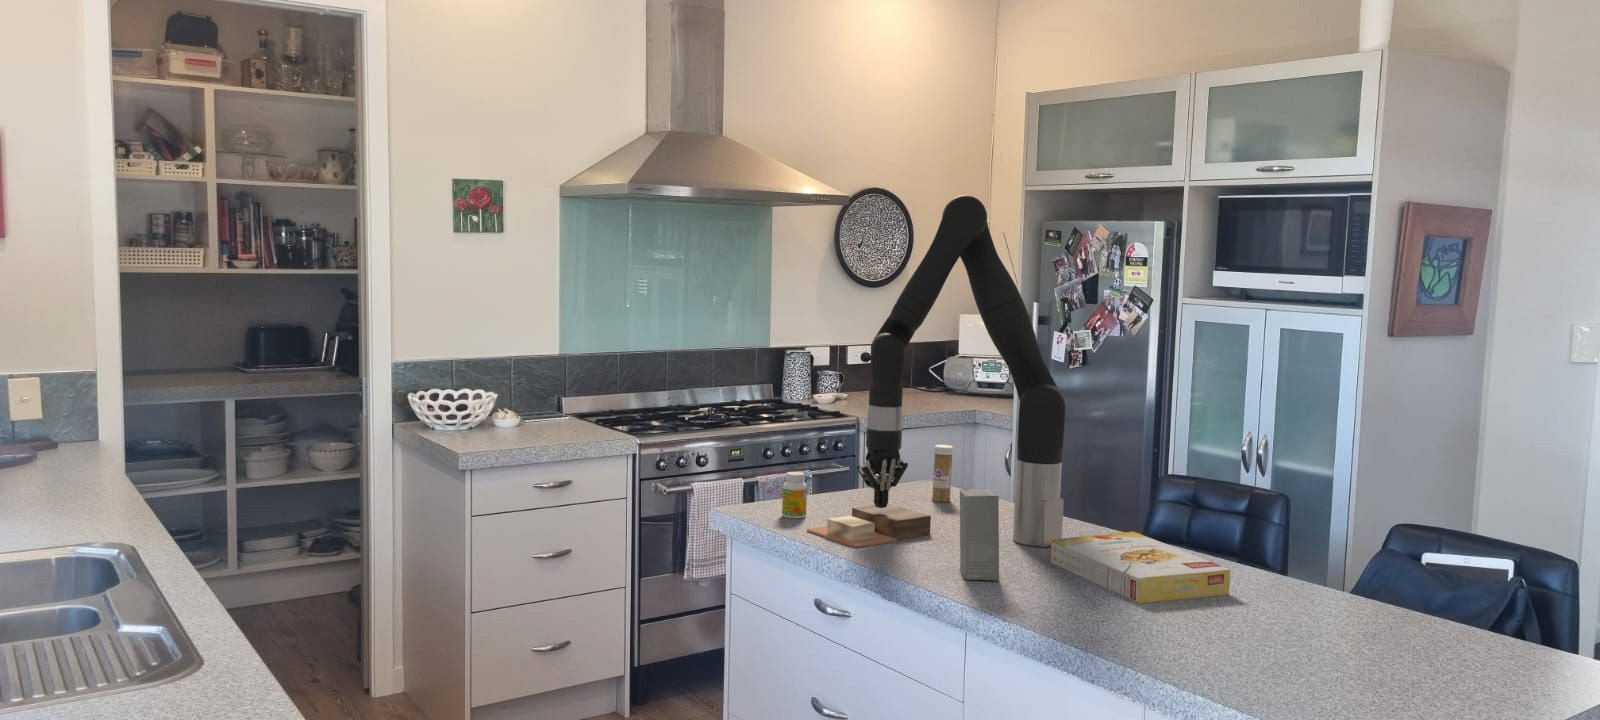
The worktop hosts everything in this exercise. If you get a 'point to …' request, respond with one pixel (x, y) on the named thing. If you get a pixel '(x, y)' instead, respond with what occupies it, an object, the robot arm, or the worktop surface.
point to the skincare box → (979, 534)
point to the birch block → (850, 528)
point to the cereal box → (1140, 567)
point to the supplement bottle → (794, 496)
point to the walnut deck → (895, 521)
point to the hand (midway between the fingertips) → (880, 507)
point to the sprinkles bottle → (942, 473)
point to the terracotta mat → (857, 543)
